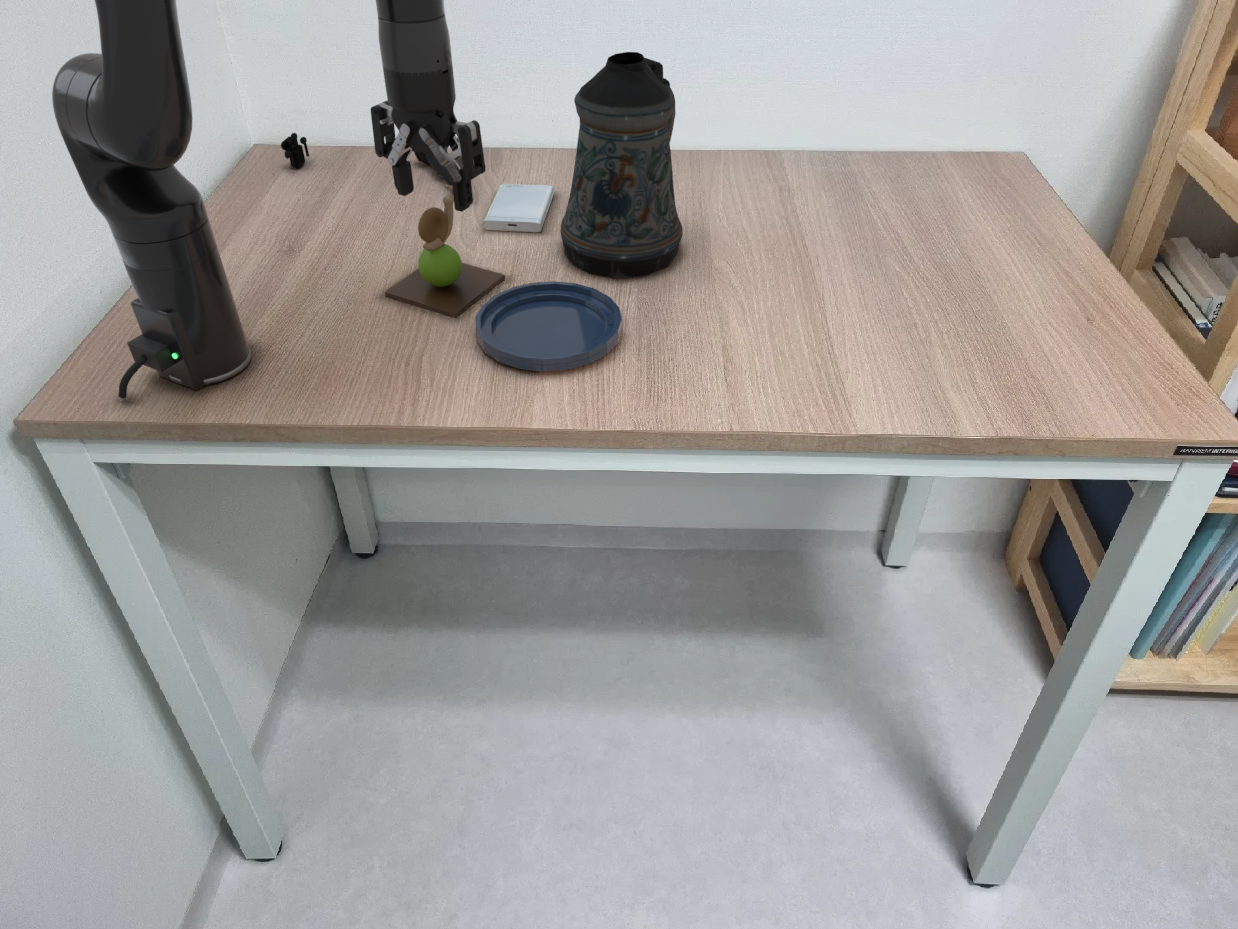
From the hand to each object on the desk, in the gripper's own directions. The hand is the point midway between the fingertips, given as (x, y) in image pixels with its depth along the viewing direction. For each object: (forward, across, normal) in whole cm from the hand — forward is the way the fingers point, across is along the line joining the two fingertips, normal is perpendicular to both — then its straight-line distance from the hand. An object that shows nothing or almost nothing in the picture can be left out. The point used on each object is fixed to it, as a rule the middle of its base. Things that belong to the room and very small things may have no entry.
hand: (434, 201), depth 110 cm
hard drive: (+12, -4, +24) cm, 27 cm away
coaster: (+12, 0, +1) cm, 12 cm away
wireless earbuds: (+12, -45, +20) cm, 51 cm away
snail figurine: (+12, 0, +1) cm, 12 cm away
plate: (+12, +17, -2) cm, 21 cm away
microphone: (+12, -21, +27) cm, 37 cm away
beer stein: (+12, +14, +22) cm, 28 cm away
